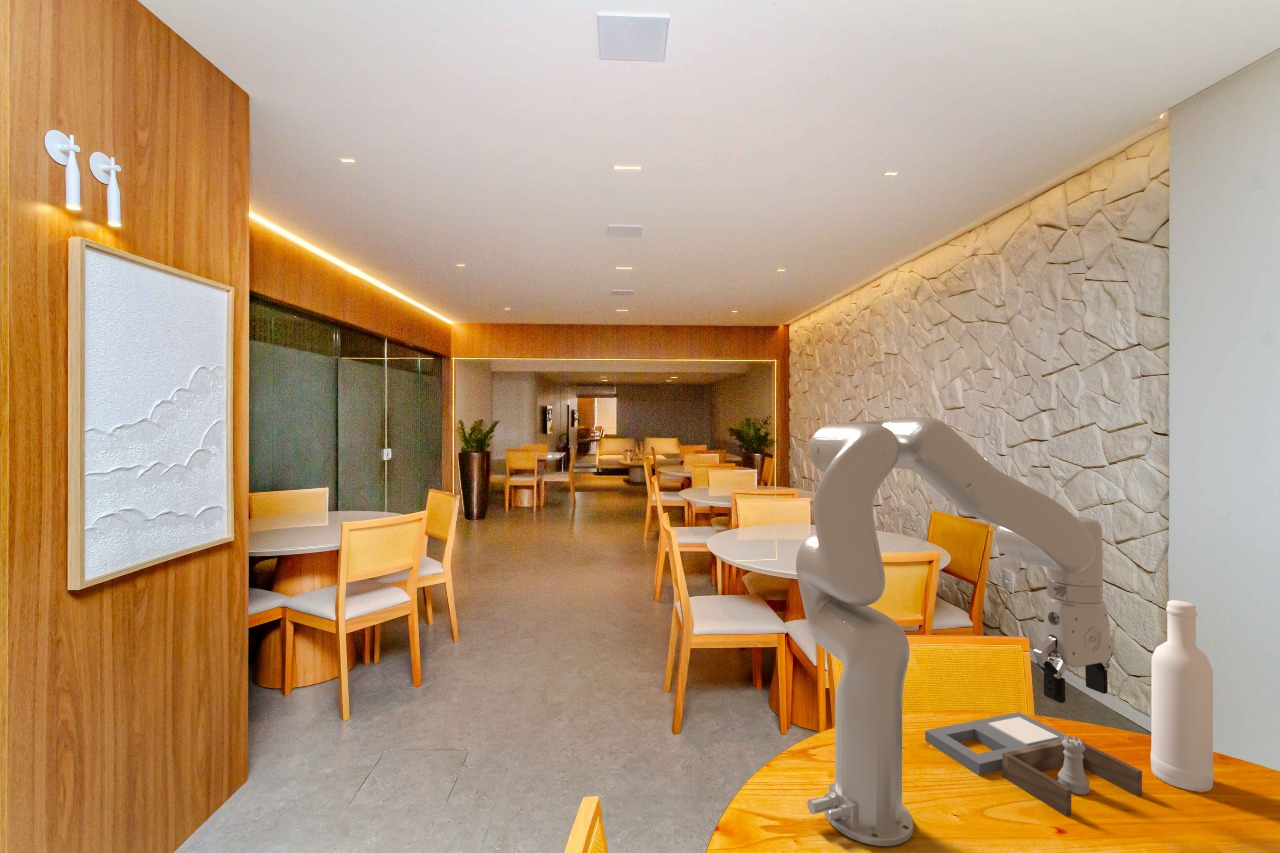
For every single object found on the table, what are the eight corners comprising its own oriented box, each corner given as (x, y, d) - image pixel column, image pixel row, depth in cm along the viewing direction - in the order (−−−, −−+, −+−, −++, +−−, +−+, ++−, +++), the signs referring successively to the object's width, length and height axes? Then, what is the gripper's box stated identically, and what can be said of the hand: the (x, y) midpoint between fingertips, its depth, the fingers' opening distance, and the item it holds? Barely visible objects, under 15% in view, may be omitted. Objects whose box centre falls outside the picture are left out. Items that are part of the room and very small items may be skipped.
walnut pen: (1066, 816, 91) (1066, 790, 91) (1002, 776, 102) (1002, 753, 102) (1141, 795, 97) (1142, 770, 97) (1073, 759, 107) (1073, 737, 107)
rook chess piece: (1096, 797, 96) (1096, 748, 96) (1065, 794, 97) (1065, 744, 97) (1081, 781, 101) (1081, 734, 101) (1051, 778, 101) (1052, 731, 101)
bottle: (1204, 774, 103) (1204, 600, 103) (1221, 798, 96) (1221, 612, 96) (1144, 761, 107) (1145, 594, 107) (1157, 784, 100) (1157, 605, 100)
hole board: (979, 775, 102) (979, 762, 102) (925, 740, 113) (925, 728, 113) (1079, 752, 110) (1079, 739, 110) (1018, 721, 121) (1019, 710, 121)
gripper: (1059, 603, 93) (1060, 713, 93) (1134, 592, 98) (1136, 696, 98) (1014, 591, 100) (1016, 693, 100) (1087, 581, 105) (1089, 678, 105)
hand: (1075, 694), depth 99 cm, fingers open, 9 cm apart
